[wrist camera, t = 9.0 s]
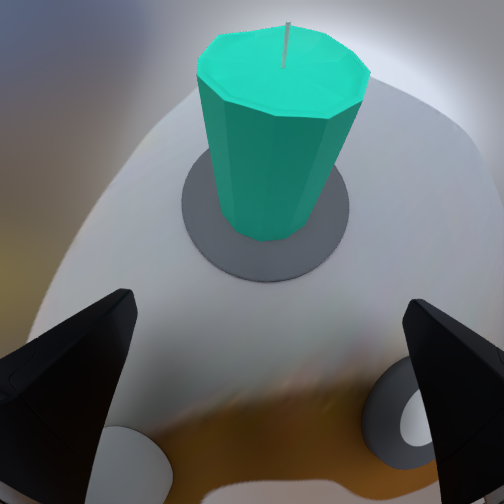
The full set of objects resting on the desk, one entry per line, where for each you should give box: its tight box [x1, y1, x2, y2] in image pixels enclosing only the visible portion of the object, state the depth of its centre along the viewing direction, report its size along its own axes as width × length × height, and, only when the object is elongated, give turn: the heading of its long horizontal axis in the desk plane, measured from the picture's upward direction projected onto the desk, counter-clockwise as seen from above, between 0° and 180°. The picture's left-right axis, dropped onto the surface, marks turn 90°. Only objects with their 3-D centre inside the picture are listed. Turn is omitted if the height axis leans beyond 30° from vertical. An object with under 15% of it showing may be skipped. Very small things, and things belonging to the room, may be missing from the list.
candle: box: [197, 20, 371, 242], centre depth 12 cm, size 6×6×12 cm
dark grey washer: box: [361, 356, 435, 470], centre depth 13 cm, size 8×8×2 cm
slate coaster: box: [182, 149, 349, 282], centre depth 18 cm, size 11×11×1 cm
